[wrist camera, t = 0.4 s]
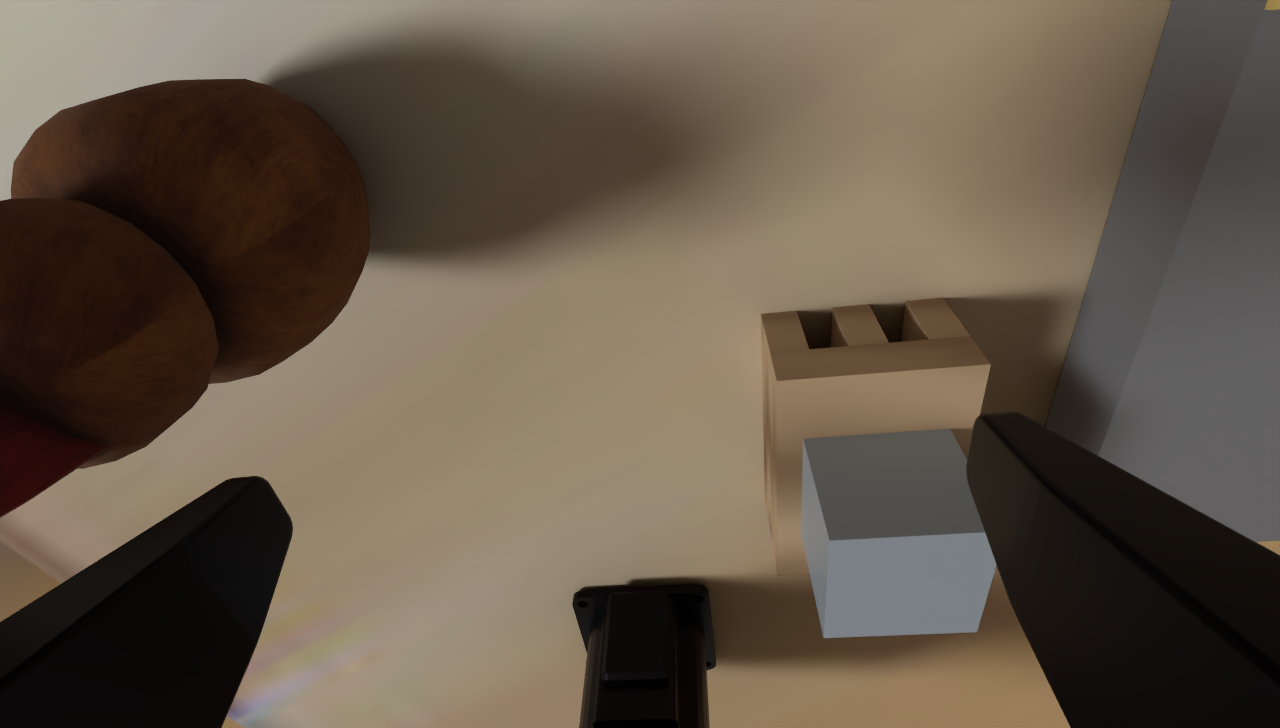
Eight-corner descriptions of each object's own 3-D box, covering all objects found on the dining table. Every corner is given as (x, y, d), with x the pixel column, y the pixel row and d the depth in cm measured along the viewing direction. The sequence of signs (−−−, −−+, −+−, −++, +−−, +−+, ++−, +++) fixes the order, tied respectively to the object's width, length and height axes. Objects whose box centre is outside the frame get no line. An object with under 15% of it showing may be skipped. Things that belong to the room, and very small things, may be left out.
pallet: (911, 487, 27) (945, 567, 23) (764, 496, 27) (777, 575, 24) (941, 296, 22) (990, 364, 18) (760, 312, 22) (776, 381, 19)
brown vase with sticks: (143, 82, 18) (-910, 417, 6) (323, 28, 17) (-500, 297, 5) (274, 287, 22) (-218, 754, 10) (428, 252, 21) (96, 720, 9)
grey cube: (931, 525, 22) (977, 632, 19) (800, 533, 23) (823, 638, 19) (949, 428, 20) (1006, 531, 16) (803, 438, 20) (829, 540, 17)
